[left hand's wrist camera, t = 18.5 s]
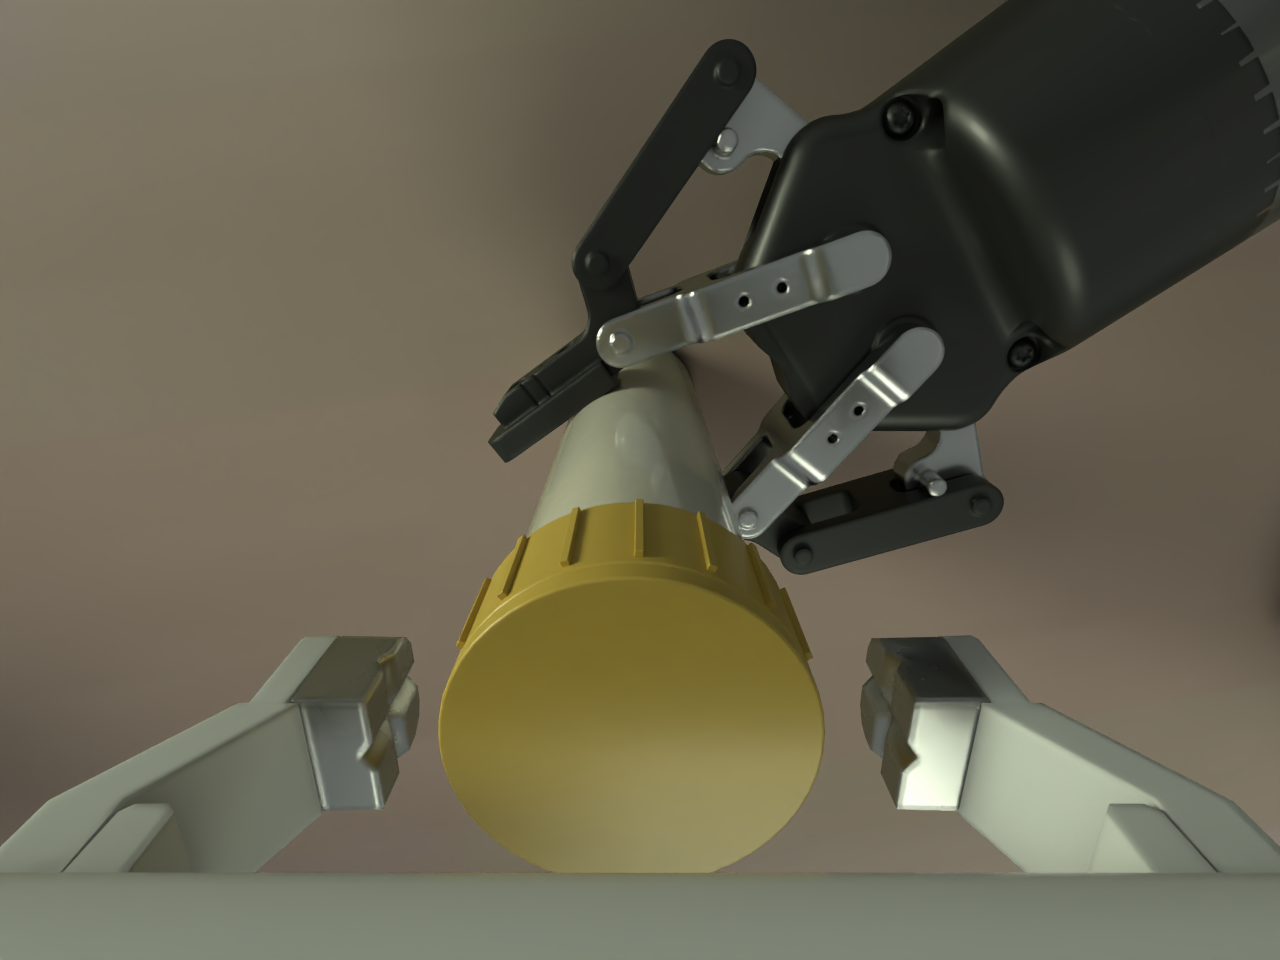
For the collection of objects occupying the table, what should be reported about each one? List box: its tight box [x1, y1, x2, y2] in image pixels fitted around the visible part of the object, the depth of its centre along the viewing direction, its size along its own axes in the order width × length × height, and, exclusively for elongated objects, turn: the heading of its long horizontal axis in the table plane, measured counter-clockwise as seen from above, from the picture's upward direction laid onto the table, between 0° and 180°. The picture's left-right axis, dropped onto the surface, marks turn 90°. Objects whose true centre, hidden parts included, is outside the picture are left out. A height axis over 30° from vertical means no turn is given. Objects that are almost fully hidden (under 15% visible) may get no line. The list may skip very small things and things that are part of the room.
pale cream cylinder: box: [526, 352, 744, 542], centre depth 17 cm, size 4×4×17 cm
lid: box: [439, 499, 825, 873], centre depth 9 cm, size 5×5×2 cm
